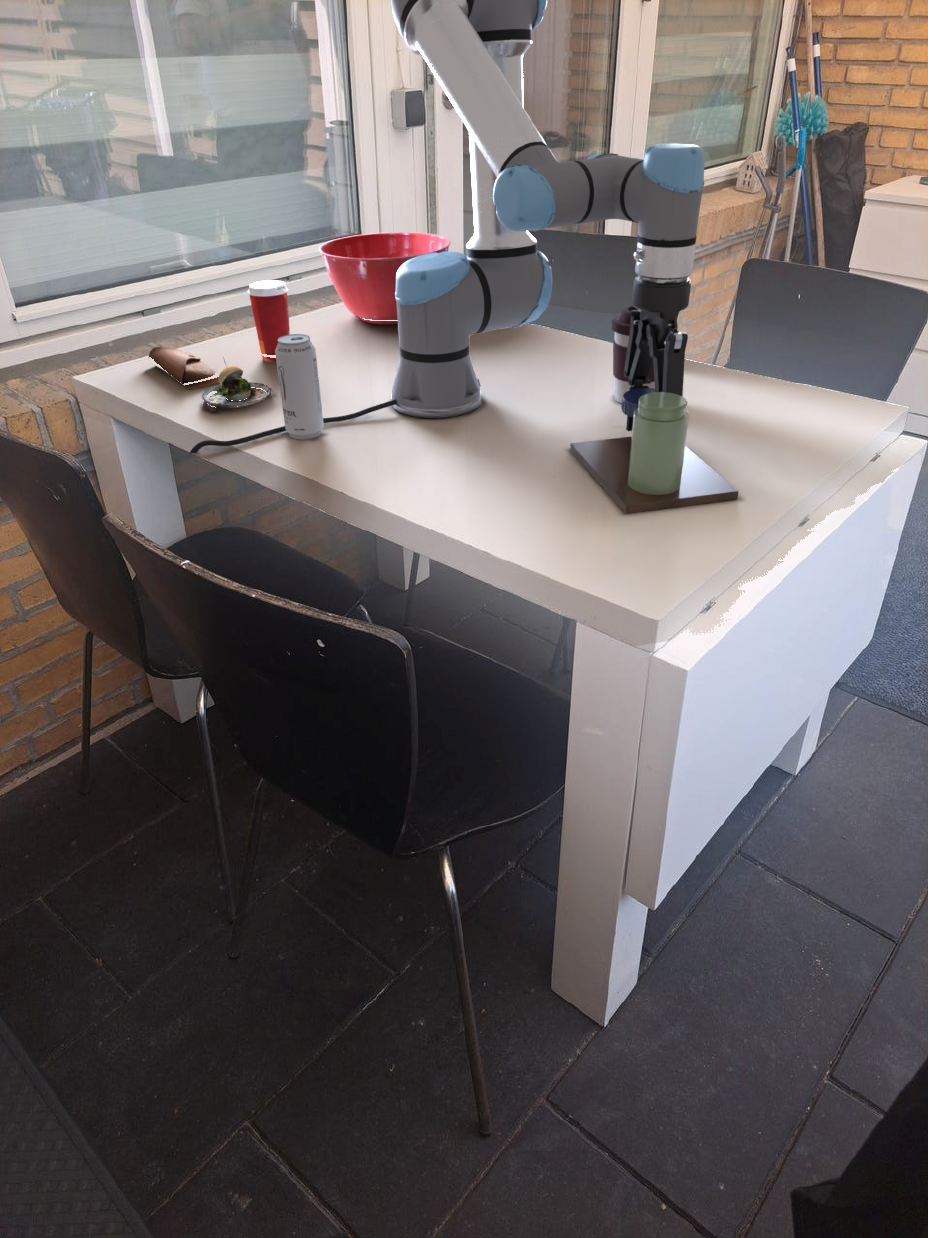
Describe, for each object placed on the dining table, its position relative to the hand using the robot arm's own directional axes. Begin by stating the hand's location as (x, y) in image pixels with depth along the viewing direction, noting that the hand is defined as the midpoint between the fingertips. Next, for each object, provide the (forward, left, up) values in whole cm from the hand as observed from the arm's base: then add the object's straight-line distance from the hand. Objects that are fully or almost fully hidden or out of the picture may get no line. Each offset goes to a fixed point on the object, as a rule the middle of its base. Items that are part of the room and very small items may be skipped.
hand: (646, 439), depth 131 cm
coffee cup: (+8, +23, -3) cm, 24 cm away
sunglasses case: (-67, +59, -3) cm, 90 cm away
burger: (-58, +41, -3) cm, 71 cm away
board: (-2, -6, -3) cm, 7 cm away
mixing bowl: (-23, +89, -3) cm, 92 cm away
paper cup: (-50, +65, -3) cm, 82 cm away
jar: (-4, -12, -1) cm, 13 cm away
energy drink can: (-48, +23, -3) cm, 53 cm away
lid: (0, 0, +6) cm, 6 cm away
